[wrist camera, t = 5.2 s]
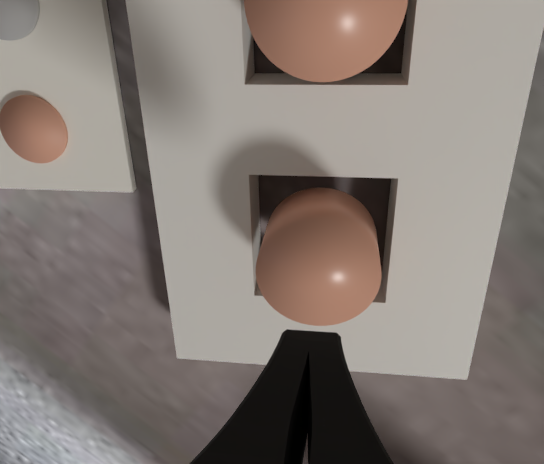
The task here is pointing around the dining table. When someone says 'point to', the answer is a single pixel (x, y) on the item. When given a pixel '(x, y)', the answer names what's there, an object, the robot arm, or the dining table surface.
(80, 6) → the pattern card
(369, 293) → the button
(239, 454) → the robot arm
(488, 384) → the dining table surface
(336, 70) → the button
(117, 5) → the dining table surface
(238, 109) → the button board
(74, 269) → the dining table surface
